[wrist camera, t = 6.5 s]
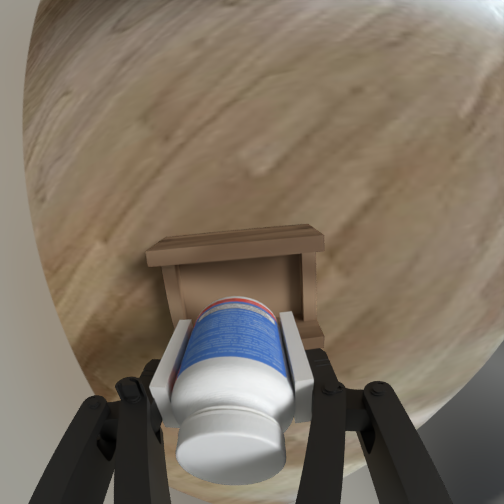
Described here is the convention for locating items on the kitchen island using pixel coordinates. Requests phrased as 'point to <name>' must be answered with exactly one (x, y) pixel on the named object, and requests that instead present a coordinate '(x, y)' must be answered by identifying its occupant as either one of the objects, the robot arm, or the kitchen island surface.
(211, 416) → the pill bottle
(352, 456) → the kitchen island surface
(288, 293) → the rack
